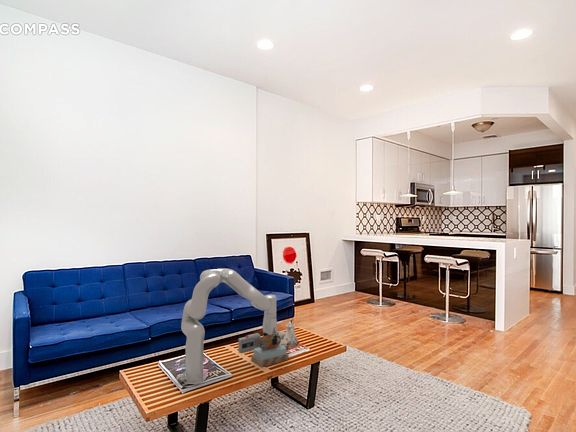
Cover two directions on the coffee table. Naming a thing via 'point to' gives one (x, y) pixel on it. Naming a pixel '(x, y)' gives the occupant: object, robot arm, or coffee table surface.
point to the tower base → (269, 360)
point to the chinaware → (288, 336)
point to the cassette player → (248, 343)
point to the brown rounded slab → (268, 342)
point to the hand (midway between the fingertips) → (270, 342)
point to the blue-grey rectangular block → (269, 352)
